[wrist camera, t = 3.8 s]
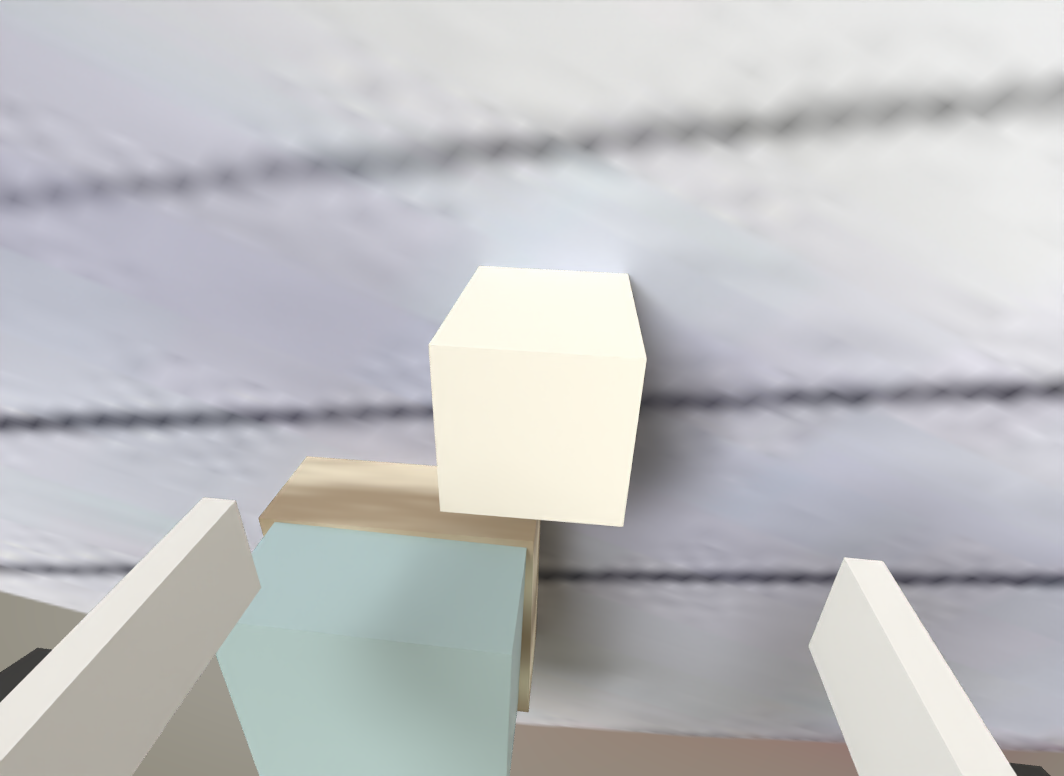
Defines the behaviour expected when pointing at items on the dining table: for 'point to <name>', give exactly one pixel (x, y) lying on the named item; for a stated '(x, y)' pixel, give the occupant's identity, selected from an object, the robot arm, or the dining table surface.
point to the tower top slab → (378, 654)
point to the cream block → (538, 395)
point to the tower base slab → (404, 520)
